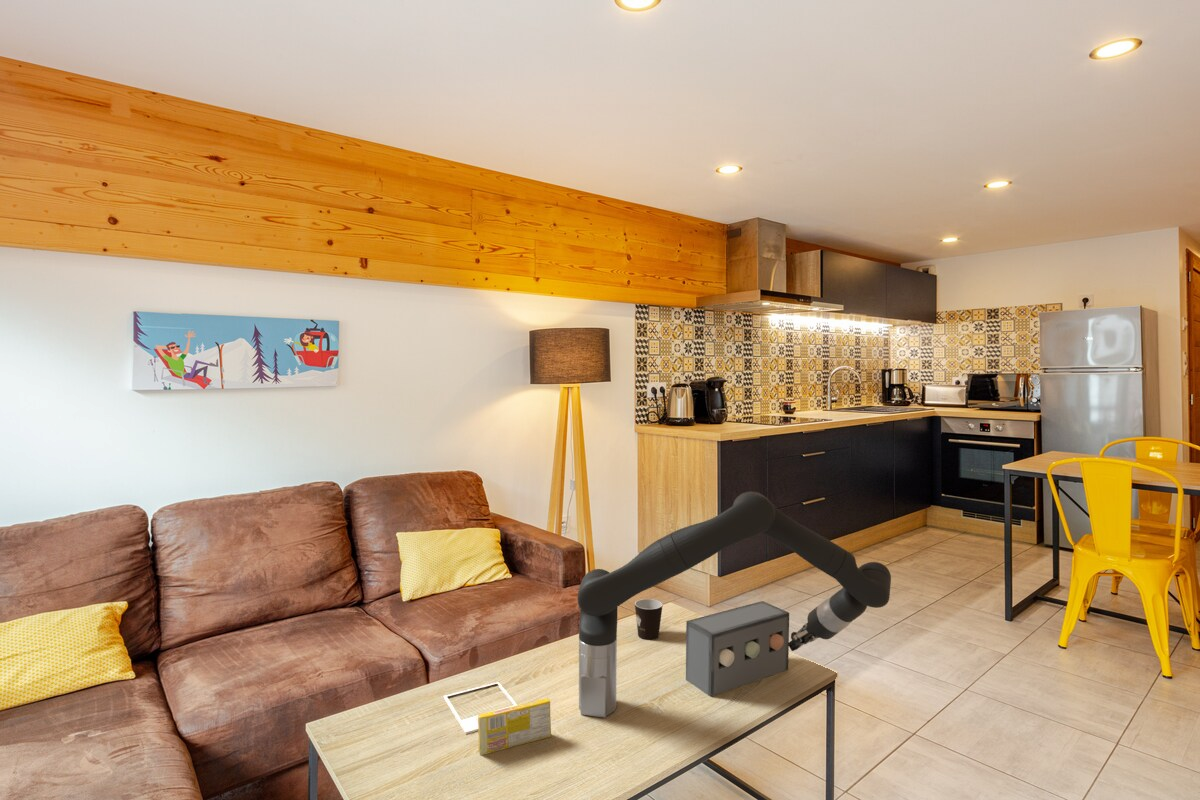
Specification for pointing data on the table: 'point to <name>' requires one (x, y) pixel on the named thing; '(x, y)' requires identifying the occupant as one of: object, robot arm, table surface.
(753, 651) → the sage button
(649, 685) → the table surface
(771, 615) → the console
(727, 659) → the cream button
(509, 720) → the candy box
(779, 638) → the terracotta button
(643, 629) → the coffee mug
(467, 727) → the photo frame
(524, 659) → the table surface
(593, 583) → the robot arm
